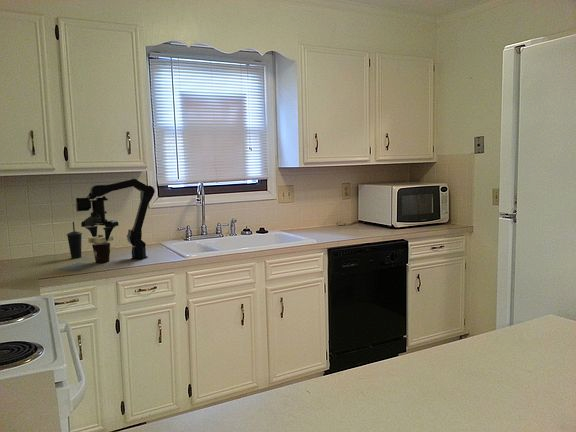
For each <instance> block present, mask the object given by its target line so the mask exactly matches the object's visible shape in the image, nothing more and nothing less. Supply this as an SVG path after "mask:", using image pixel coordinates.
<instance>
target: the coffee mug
mask: <svg viewBox="0 0 576 432" xmlns="http://www.w3.org/2000/svg"><path fill="white" fill-rule="evenodd" d="M91 244H92V245H91V246H92V250H93V255H94V261H95V264H107V263H109V262H110V258H111V257H110V255H111V241H108V242H104V243H100V244H97V243H91Z"/></svg>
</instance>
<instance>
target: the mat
mask: <svg viewBox="0 0 576 432" xmlns="http://www.w3.org/2000/svg"><path fill="white" fill-rule="evenodd" d="M99 265H100V263H91V262H90V263H89V262H76V263H72V264H70V265H69V264H68V265H66V266H63V267H58V268H56V269H54V271H66V272H79V271H82V270H85V269H89V268H92V267H94V266H95V267H96V266H99Z"/></svg>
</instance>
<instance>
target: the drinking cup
mask: <svg viewBox="0 0 576 432" xmlns="http://www.w3.org/2000/svg"><path fill="white" fill-rule="evenodd" d="M82 236H83V233H82V232H80V231H77V230H75V221H72V231H70V232H68V233H67V234H66V237H67V242H68V246H69V252H70V257H71V259H73V260H75V259H77V260H78V259H80V258H82Z"/></svg>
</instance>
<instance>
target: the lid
mask: <svg viewBox="0 0 576 432" xmlns="http://www.w3.org/2000/svg"><path fill="white" fill-rule="evenodd" d="M111 241H114V236H113V234H112V235H111V234H110V237H109V239H108V241H106V238H105V234H97V236H96V237H93V236H92V237H88V244H94V243H97V244H100V243H104V242H111Z"/></svg>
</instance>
